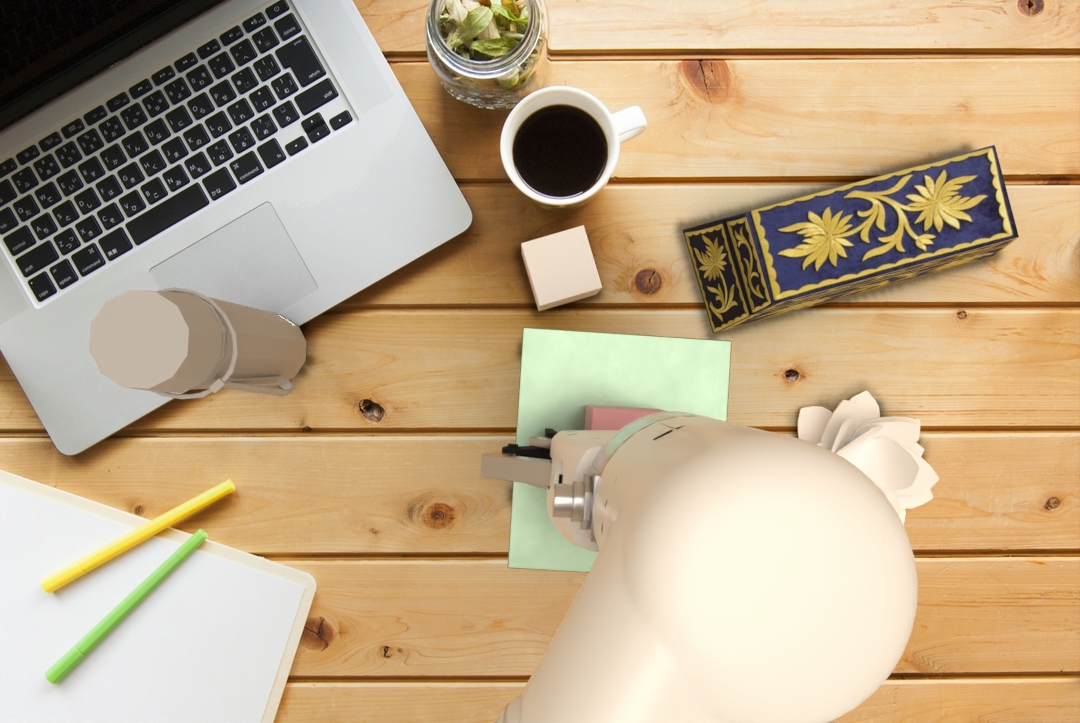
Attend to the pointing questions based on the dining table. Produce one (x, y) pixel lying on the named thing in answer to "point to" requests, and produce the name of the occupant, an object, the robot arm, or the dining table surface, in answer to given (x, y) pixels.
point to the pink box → (613, 416)
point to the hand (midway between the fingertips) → (624, 457)
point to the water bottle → (194, 345)
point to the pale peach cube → (561, 268)
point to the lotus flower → (874, 447)
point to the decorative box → (852, 239)
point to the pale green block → (607, 380)
